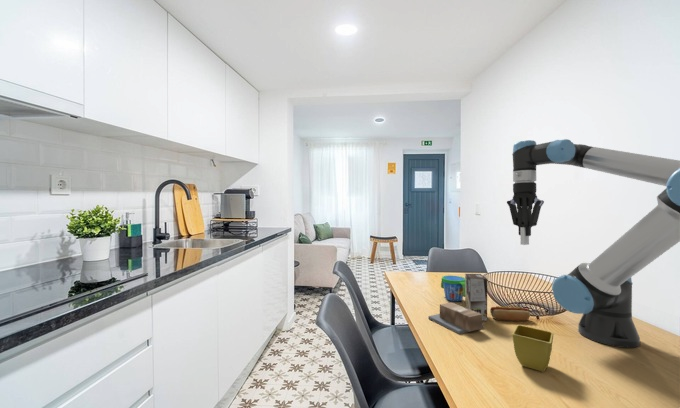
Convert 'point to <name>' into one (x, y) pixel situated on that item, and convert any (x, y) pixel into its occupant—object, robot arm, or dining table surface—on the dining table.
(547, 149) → the robot arm
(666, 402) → the dining table surface
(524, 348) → the flower pot
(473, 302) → the coffee box
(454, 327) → the mat
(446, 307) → the walnut block
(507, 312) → the food
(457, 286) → the snack cup
